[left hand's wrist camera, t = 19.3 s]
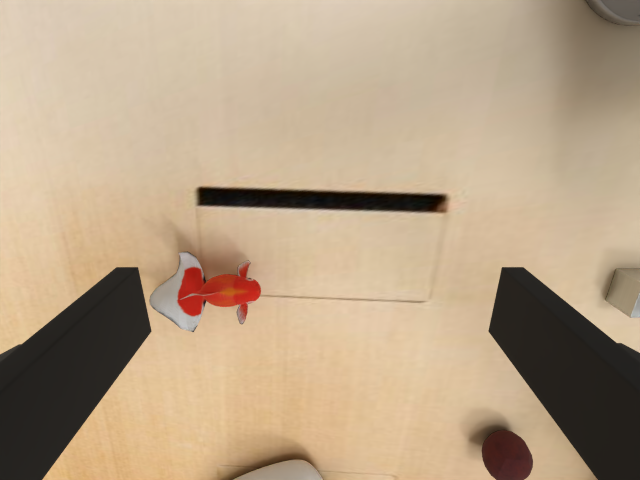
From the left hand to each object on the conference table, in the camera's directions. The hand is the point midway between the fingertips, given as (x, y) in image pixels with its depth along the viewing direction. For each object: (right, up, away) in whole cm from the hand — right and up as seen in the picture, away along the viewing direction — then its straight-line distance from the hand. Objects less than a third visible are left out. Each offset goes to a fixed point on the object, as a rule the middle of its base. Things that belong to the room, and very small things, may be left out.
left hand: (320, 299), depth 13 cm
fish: (-15, -3, +36) cm, 39 cm away
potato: (+30, -31, +47) cm, 64 cm away
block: (+43, -4, +36) cm, 57 cm away
